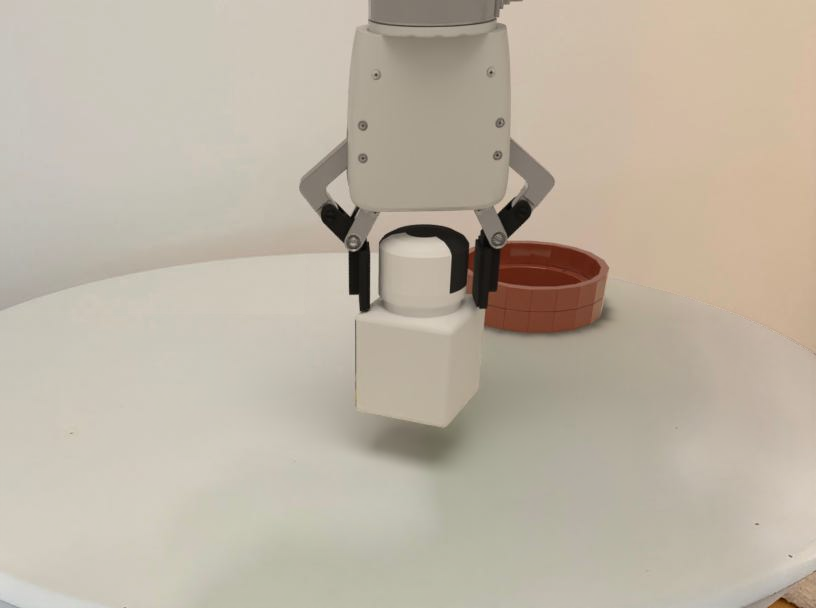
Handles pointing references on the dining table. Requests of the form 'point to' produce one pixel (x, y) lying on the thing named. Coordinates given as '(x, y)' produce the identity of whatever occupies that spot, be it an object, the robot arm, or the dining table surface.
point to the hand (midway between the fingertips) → (421, 301)
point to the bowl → (544, 287)
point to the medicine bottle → (419, 329)
